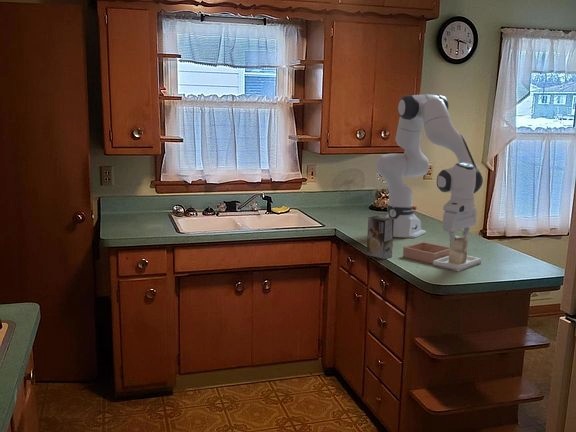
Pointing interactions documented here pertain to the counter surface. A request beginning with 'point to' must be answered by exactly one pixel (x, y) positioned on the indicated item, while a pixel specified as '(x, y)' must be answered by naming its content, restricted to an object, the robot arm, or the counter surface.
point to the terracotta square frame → (425, 251)
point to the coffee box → (380, 237)
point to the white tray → (447, 265)
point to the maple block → (458, 250)
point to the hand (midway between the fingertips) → (458, 239)
